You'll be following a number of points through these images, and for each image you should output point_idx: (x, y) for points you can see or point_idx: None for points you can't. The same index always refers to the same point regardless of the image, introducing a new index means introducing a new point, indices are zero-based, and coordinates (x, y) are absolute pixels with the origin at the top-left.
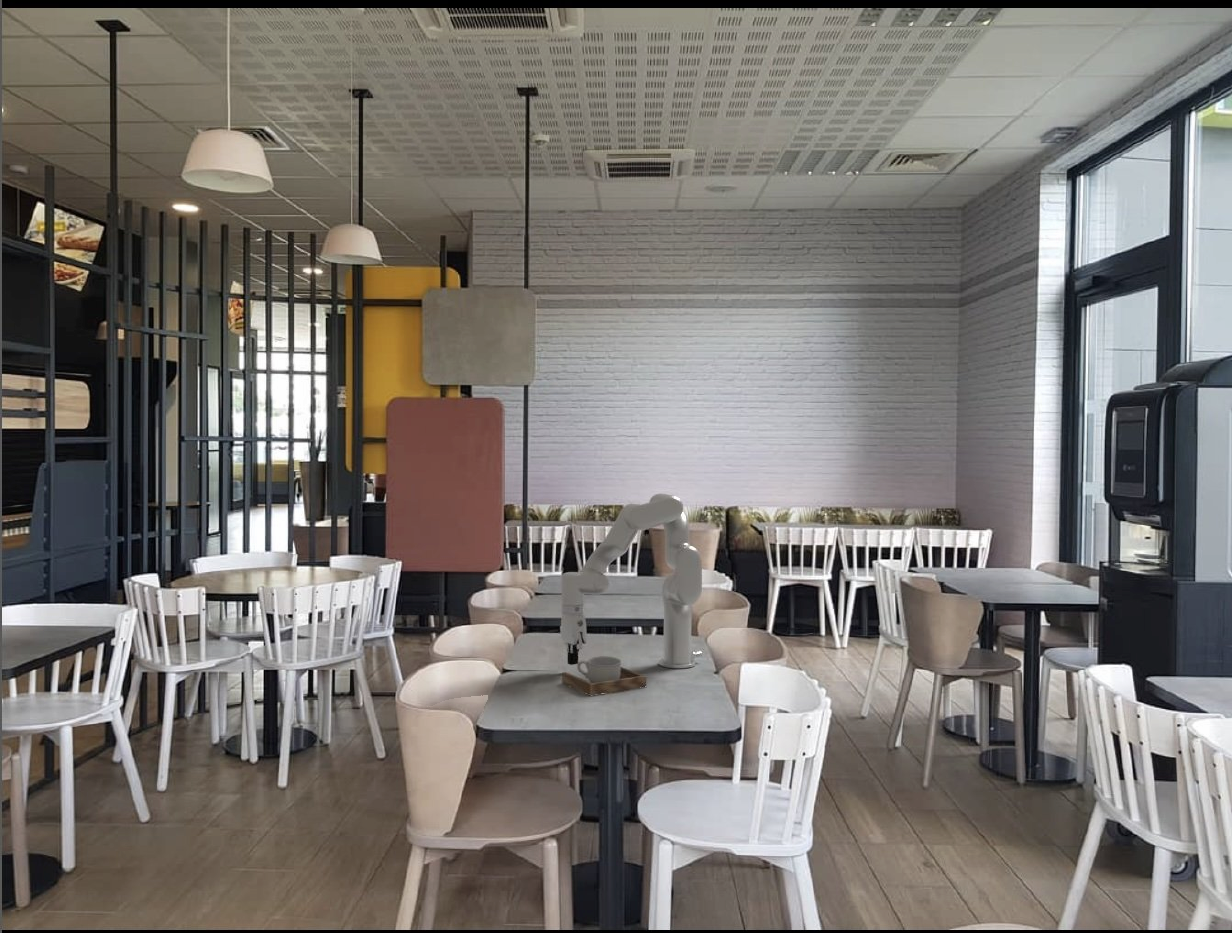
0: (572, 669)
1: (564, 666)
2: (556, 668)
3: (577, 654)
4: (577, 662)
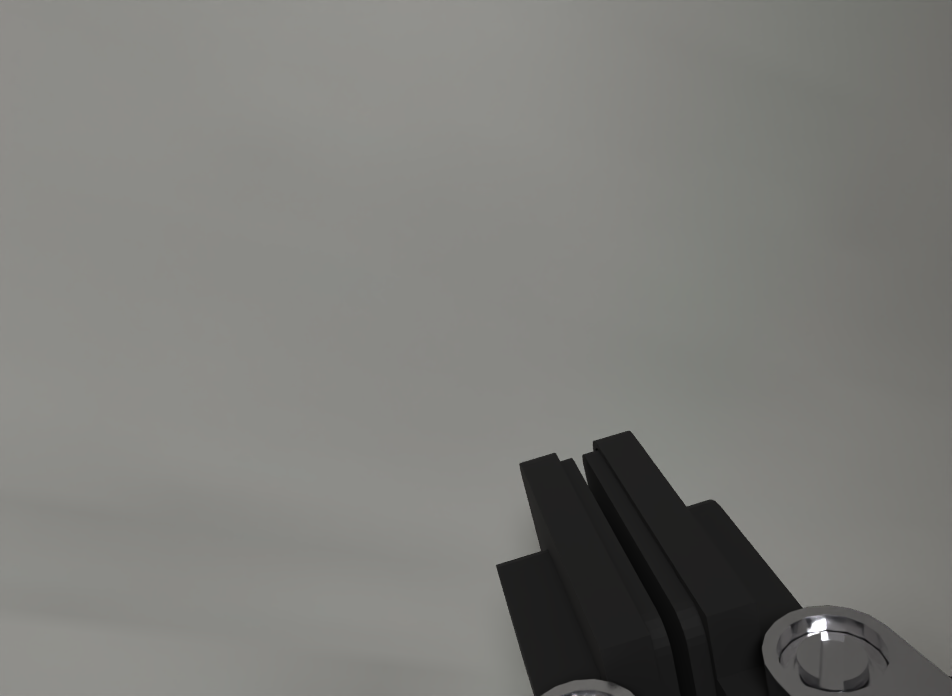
0: (314, 404)
1: (7, 502)
2: (164, 657)
3: (722, 572)
4: (635, 453)
